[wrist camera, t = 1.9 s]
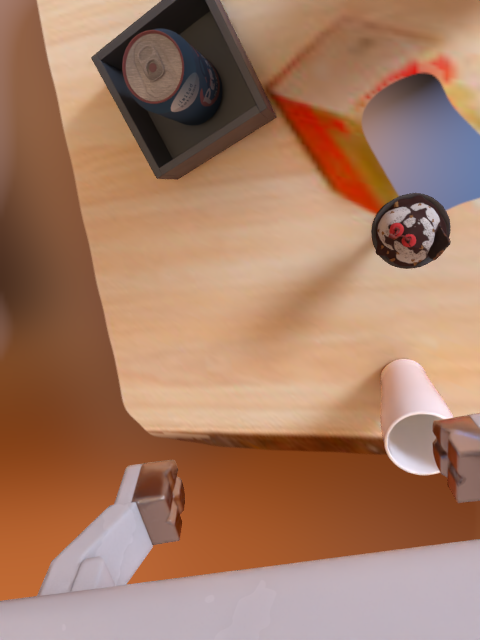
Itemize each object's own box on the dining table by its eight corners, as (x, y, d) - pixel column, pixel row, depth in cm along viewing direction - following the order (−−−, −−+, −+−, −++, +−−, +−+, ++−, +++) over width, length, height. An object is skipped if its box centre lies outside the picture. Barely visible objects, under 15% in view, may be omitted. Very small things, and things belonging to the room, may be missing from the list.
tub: (217, -4, 47) (199, -31, 41) (276, 116, 49) (267, 107, 43) (119, 71, 51) (90, 57, 45) (177, 179, 53) (156, 178, 47)
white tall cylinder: (368, 395, 56) (376, 466, 42) (380, 346, 53) (393, 403, 40) (424, 407, 54) (451, 484, 40) (439, 357, 52) (473, 420, 38)
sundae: (355, 212, 50) (359, 223, 36) (413, 180, 48) (441, 178, 34) (382, 263, 51) (396, 293, 37) (440, 233, 48) (478, 253, 34)
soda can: (236, 105, 49) (203, 82, 38) (185, 138, 51) (140, 125, 40) (207, 45, 48) (164, 3, 37) (156, 81, 50) (101, 52, 39)
